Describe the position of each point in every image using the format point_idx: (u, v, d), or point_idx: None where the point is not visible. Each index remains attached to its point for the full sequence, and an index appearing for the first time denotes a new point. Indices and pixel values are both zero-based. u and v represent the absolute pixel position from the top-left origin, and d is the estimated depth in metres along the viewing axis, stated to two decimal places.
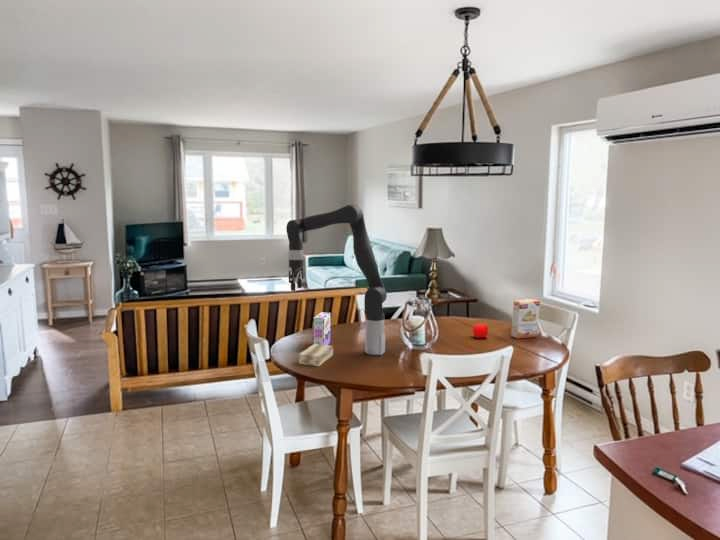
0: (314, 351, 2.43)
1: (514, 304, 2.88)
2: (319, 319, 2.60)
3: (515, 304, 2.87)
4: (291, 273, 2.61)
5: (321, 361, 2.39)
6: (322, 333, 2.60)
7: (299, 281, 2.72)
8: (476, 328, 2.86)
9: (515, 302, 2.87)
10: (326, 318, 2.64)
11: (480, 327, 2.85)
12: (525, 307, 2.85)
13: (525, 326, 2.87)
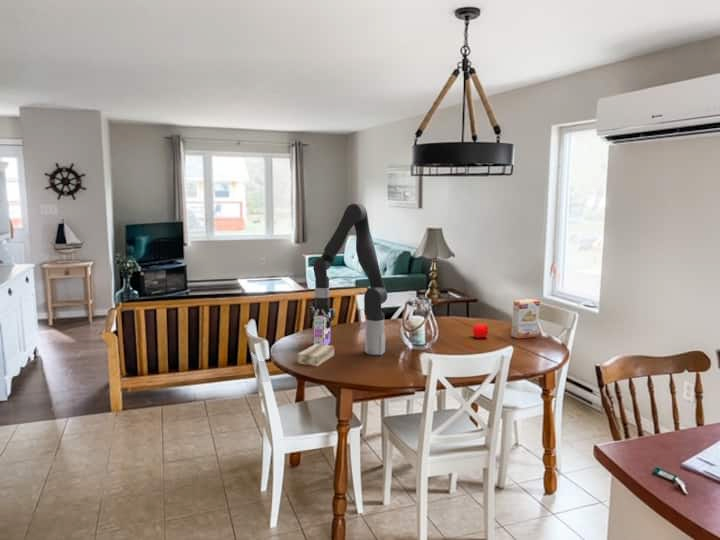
0: (314, 351, 2.43)
1: (514, 304, 2.88)
2: (319, 319, 2.60)
3: (515, 304, 2.87)
4: (334, 311, 2.64)
5: (320, 361, 2.39)
6: (322, 333, 2.60)
7: None
8: (476, 328, 2.86)
9: (515, 302, 2.87)
10: (326, 318, 2.64)
11: (480, 327, 2.85)
12: (525, 307, 2.85)
13: (525, 326, 2.87)
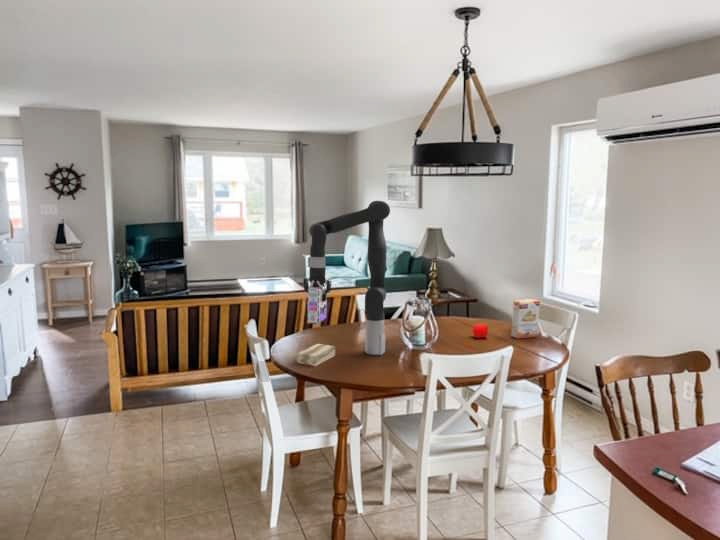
0: (313, 351, 2.43)
1: (514, 304, 2.88)
2: (314, 291, 2.38)
3: (515, 304, 2.87)
4: (330, 282, 2.42)
5: (318, 361, 2.39)
6: (317, 306, 2.39)
7: None
8: (476, 328, 2.86)
9: (515, 302, 2.87)
10: None
11: (480, 327, 2.85)
12: (525, 307, 2.85)
13: (525, 326, 2.87)
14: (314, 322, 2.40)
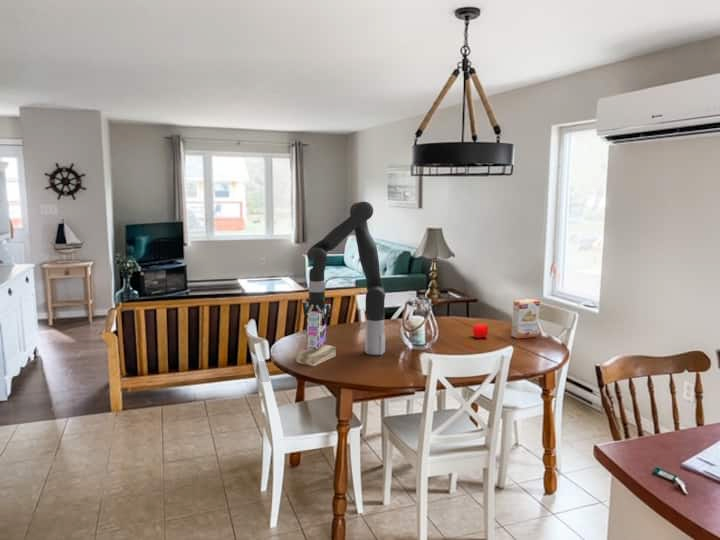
0: (313, 351, 2.43)
1: (514, 304, 2.88)
2: (313, 315, 2.37)
3: (515, 305, 2.87)
4: (330, 306, 2.41)
5: (317, 361, 2.39)
6: (317, 331, 2.37)
7: None
8: (476, 328, 2.86)
9: (515, 302, 2.87)
10: (321, 314, 2.41)
11: (480, 327, 2.85)
12: (525, 307, 2.85)
13: (525, 326, 2.87)
14: (314, 347, 2.39)
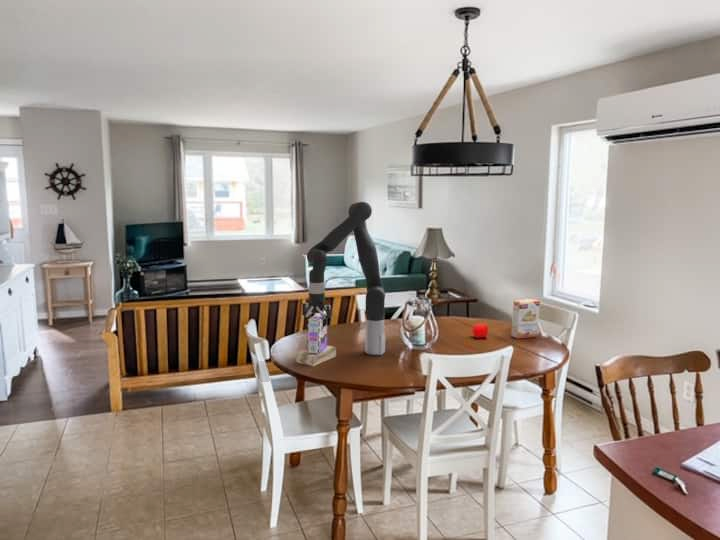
0: None
1: (514, 304, 2.88)
2: (314, 321, 2.37)
3: (515, 304, 2.87)
4: (330, 307, 2.41)
5: (317, 362, 2.39)
6: (317, 336, 2.37)
7: (309, 317, 2.45)
8: (476, 328, 2.86)
9: (515, 302, 2.87)
10: (322, 320, 2.41)
11: (480, 327, 2.85)
12: (525, 307, 2.85)
13: (525, 326, 2.87)
14: (314, 352, 2.39)
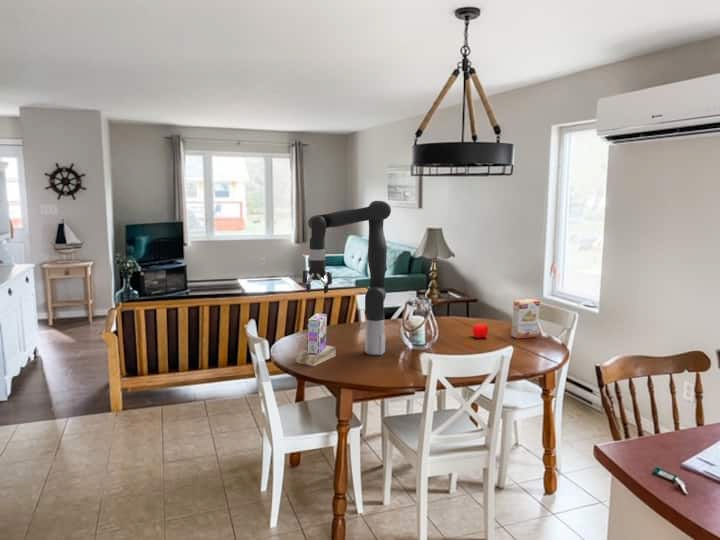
0: None
1: (514, 304, 2.88)
2: (314, 321, 2.37)
3: (515, 304, 2.87)
4: (330, 274, 2.40)
5: (317, 362, 2.39)
6: (317, 337, 2.37)
7: (309, 284, 2.44)
8: (476, 328, 2.86)
9: (515, 302, 2.87)
10: (322, 320, 2.41)
11: (480, 327, 2.85)
12: (525, 307, 2.85)
13: (525, 326, 2.87)
14: (314, 352, 2.39)
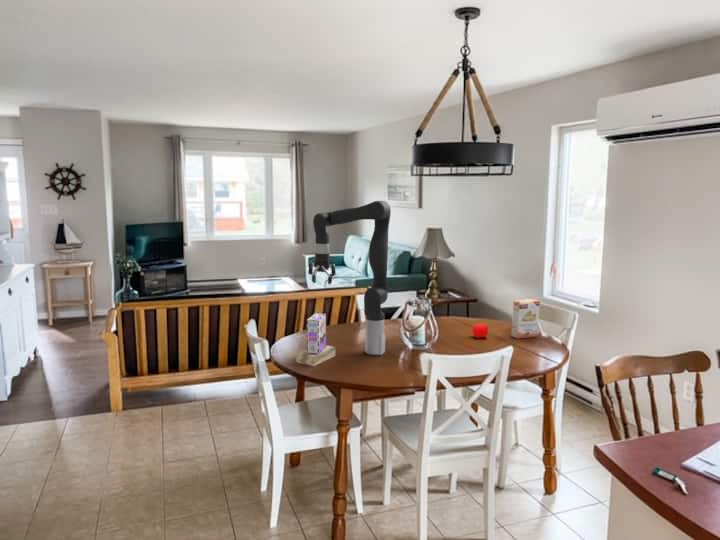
0: None
1: (514, 304, 2.88)
2: (313, 321, 2.37)
3: (515, 304, 2.87)
4: (334, 266, 2.63)
5: (317, 361, 2.39)
6: (317, 336, 2.37)
7: (315, 276, 2.67)
8: (476, 328, 2.86)
9: (515, 302, 2.87)
10: (321, 320, 2.41)
11: (480, 327, 2.85)
12: (525, 307, 2.85)
13: (525, 326, 2.87)
14: (314, 352, 2.39)
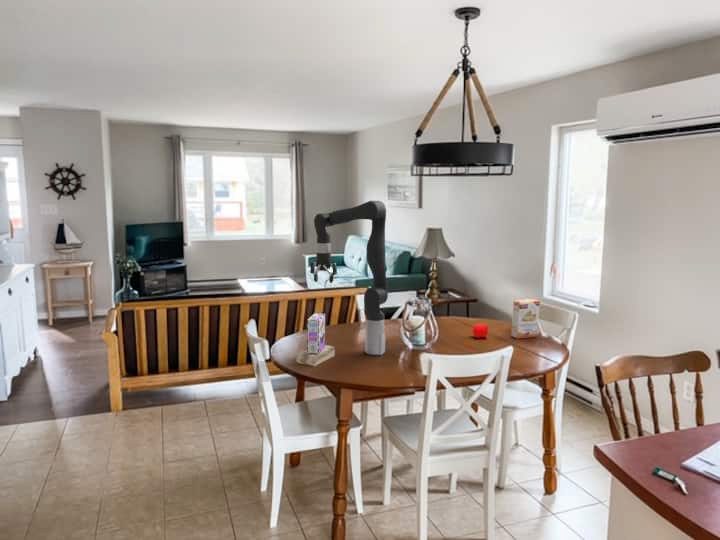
0: None
1: (514, 304, 2.88)
2: (314, 321, 2.37)
3: (515, 304, 2.87)
4: (335, 265, 2.69)
5: (318, 361, 2.39)
6: (317, 336, 2.38)
7: (316, 275, 2.73)
8: (476, 328, 2.86)
9: (515, 302, 2.87)
10: (321, 320, 2.41)
11: (480, 327, 2.85)
12: (525, 307, 2.85)
13: (525, 326, 2.87)
14: (314, 352, 2.39)
